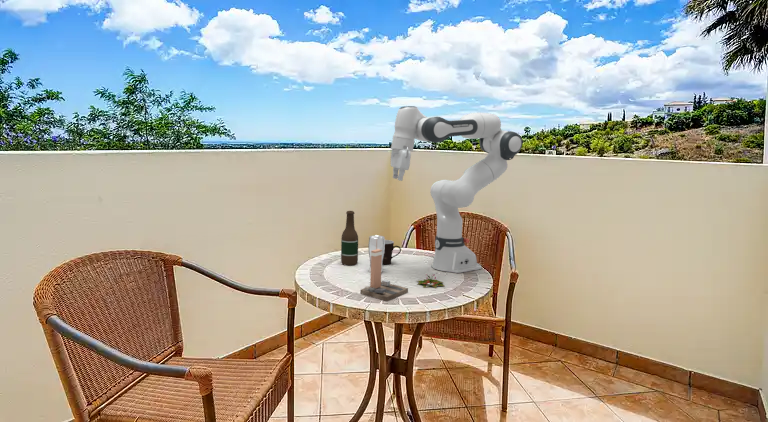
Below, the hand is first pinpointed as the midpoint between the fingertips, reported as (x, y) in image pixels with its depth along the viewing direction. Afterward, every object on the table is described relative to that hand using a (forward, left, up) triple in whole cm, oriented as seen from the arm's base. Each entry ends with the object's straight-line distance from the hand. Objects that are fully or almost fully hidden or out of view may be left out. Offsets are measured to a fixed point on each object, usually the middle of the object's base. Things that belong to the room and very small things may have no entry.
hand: (397, 179), depth 186 cm
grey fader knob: (+12, +19, -38) cm, 44 cm away
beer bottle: (+13, -20, -40) cm, 47 cm away
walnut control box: (+14, +23, -40) cm, 48 cm away
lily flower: (-8, +18, -41) cm, 45 cm away
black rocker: (+17, +27, -37) cm, 49 cm away
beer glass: (+6, -5, -40) cm, 41 cm away
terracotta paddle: (+17, +21, -38) cm, 46 cm away
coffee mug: (-3, -15, -40) cm, 43 cm away
